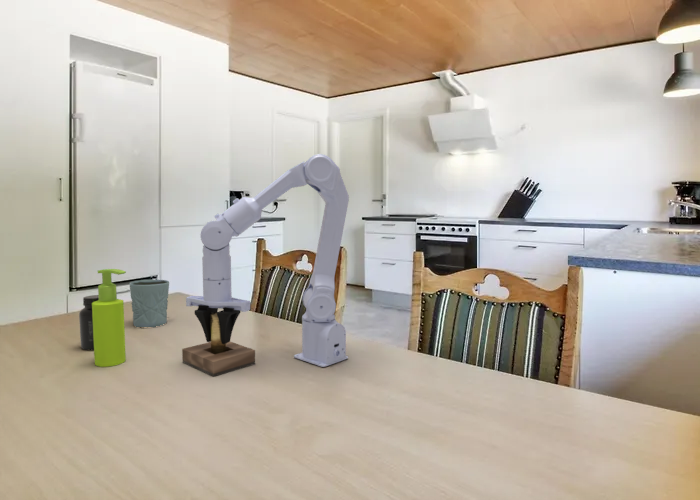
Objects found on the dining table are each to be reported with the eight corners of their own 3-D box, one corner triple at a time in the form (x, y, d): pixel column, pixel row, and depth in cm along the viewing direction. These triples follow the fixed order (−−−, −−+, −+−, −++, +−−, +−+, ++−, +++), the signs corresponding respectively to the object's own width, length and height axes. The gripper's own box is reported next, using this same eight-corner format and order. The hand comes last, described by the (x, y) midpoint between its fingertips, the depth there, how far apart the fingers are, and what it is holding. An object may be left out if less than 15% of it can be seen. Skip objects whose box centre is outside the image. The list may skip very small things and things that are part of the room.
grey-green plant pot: (122, 326, 126) (121, 283, 124) (148, 318, 135) (147, 278, 134) (153, 330, 123) (152, 285, 122) (177, 321, 132) (176, 280, 131)
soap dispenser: (117, 368, 94) (113, 271, 92) (88, 365, 95) (83, 270, 93) (136, 359, 100) (132, 268, 98) (108, 356, 101) (104, 267, 99)
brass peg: (229, 354, 98) (229, 313, 97) (217, 358, 95) (216, 316, 94) (220, 351, 100) (219, 311, 99) (207, 355, 97) (207, 313, 96)
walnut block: (255, 363, 97) (254, 350, 97) (213, 376, 90) (213, 361, 90) (223, 351, 105) (223, 338, 105) (182, 362, 98) (182, 348, 97)
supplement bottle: (119, 342, 111) (117, 294, 110) (101, 351, 105) (99, 299, 103) (93, 341, 112) (91, 293, 111) (73, 350, 105) (71, 299, 104)
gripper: (257, 277, 97) (258, 340, 98) (200, 273, 102) (201, 333, 103) (239, 282, 91) (240, 349, 92) (178, 278, 95) (180, 342, 97)
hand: (218, 341), depth 97 cm, fingers closed on brass peg, 3 cm apart
